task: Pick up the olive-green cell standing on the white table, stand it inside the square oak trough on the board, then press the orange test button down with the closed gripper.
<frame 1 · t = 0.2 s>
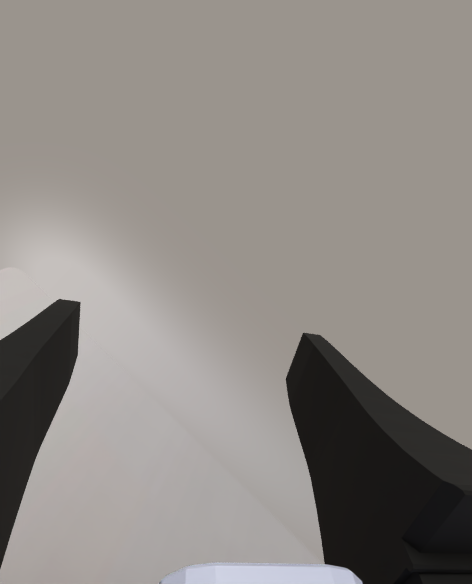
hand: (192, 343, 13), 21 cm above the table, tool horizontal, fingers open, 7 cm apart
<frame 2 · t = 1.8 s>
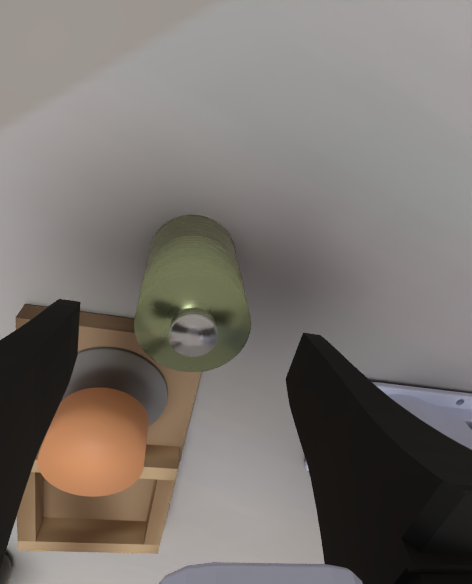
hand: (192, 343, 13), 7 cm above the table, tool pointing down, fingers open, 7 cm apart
button: (97, 442, 18), point 4 cm above the table, slide at 0.0 cm
cell: (192, 255, 19), on the table
board: (106, 439, 24), on the table
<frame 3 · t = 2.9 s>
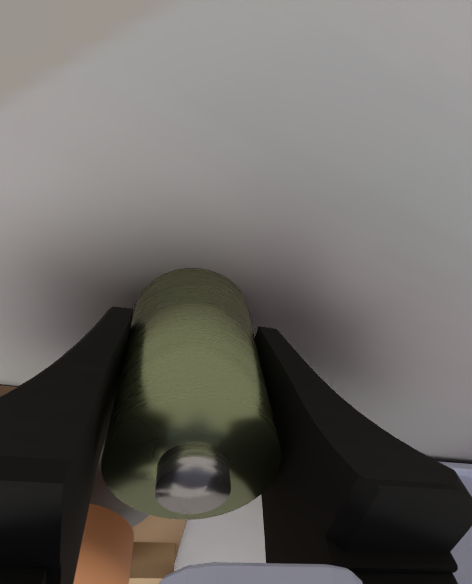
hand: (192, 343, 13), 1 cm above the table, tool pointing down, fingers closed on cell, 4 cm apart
button: (62, 575, 13), point 4 cm above the table, slide at 0.0 cm
cell: (192, 319, 14), on the table, touching gripper
board: (85, 529, 20), on the table
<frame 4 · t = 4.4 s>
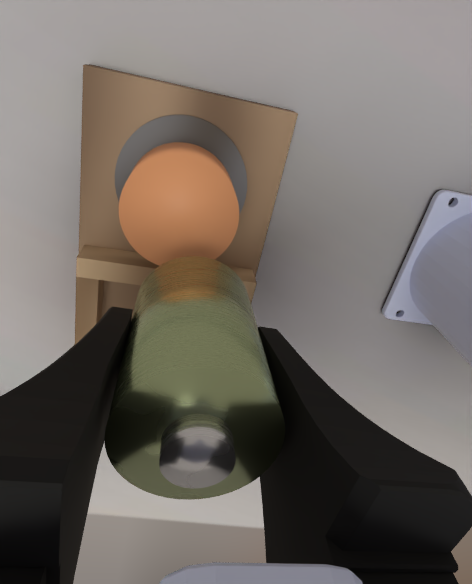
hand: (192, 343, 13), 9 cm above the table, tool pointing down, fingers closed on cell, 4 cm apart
button: (180, 206, 16), point 4 cm above the table, slide at 0.0 cm
cell: (193, 308, 14), point 8 cm above the table, touching gripper
board: (169, 268, 22), on the table
when the fingers open (4 cm above the table, at t = 6.2 s): cell stays where it is, resting on board.
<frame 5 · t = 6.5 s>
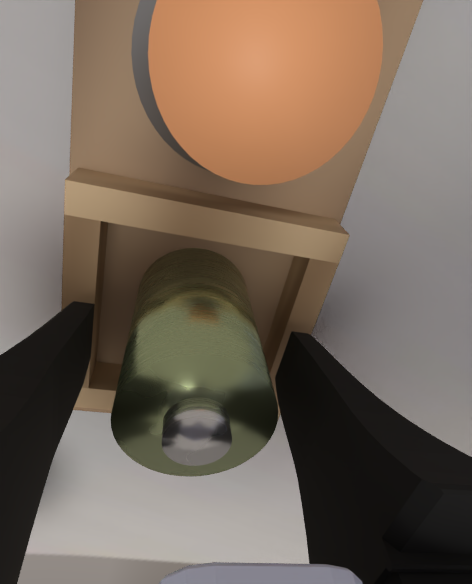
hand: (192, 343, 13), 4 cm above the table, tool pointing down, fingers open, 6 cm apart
button: (258, 67, 9), point 4 cm above the table, slide at 0.0 cm
cell: (193, 297, 15), point 1 cm above the table, touching board
board: (206, 218, 15), on the table
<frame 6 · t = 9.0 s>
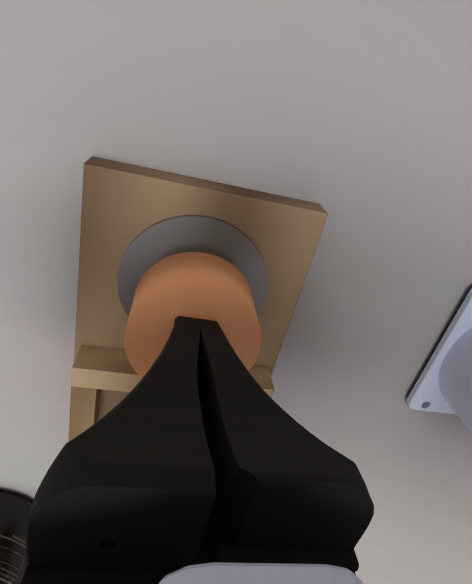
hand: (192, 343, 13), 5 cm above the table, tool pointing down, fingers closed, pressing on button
button: (194, 323, 14), point 4 cm above the table, slide at 0.4 cm, touching gripper
board: (175, 361, 20), on the table
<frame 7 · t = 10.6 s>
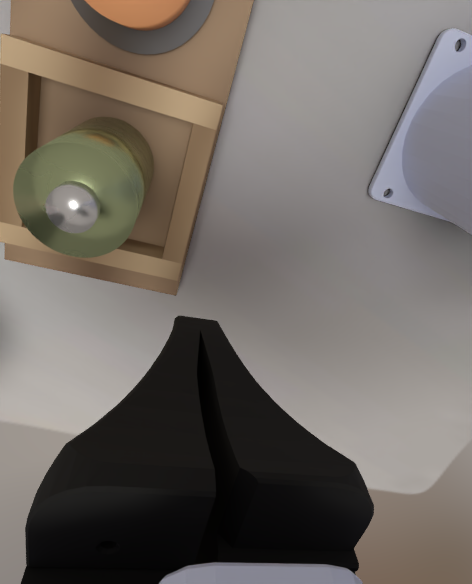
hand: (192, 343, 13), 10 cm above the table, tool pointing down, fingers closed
cell: (110, 163, 19), point 1 cm above the table, touching board
board: (124, 99, 18), on the table
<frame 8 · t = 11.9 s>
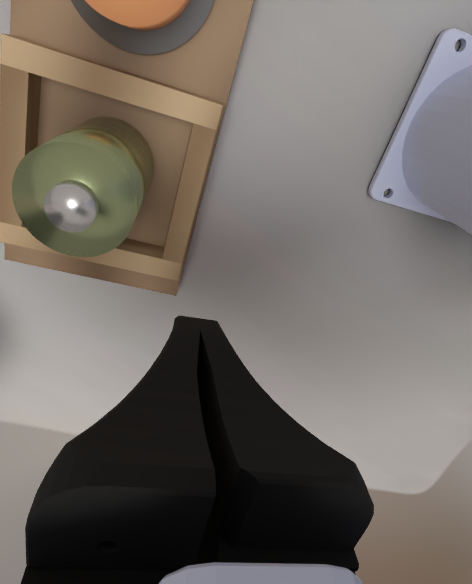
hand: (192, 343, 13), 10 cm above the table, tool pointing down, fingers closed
cell: (110, 163, 19), point 1 cm above the table, touching board
board: (124, 99, 18), on the table
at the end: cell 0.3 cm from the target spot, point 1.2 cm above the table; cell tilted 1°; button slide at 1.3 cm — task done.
